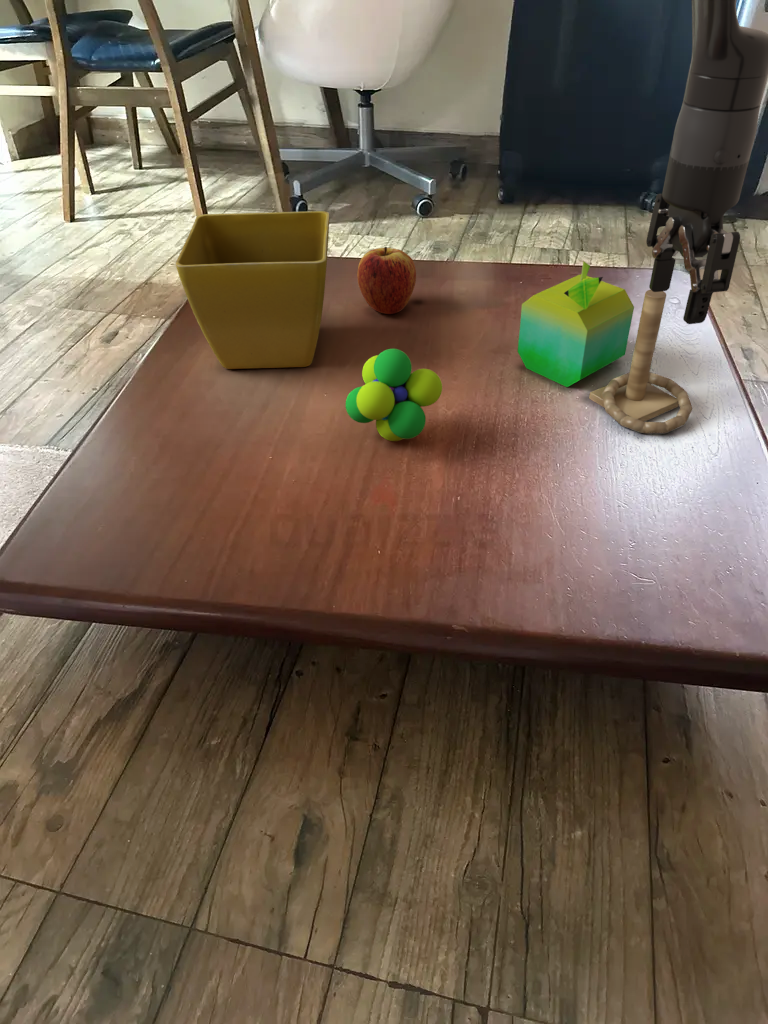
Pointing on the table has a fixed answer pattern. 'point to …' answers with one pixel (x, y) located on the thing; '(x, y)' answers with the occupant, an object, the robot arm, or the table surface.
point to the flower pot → (257, 285)
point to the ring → (641, 425)
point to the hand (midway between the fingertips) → (675, 305)
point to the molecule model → (394, 395)
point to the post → (643, 368)
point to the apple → (386, 279)
